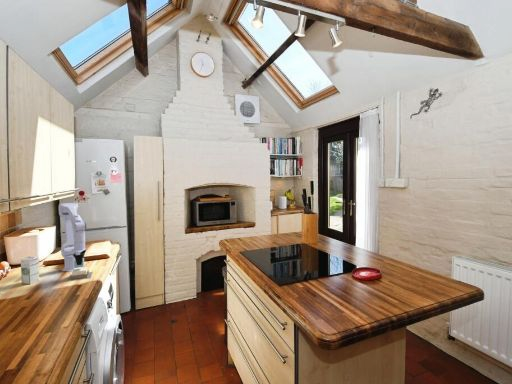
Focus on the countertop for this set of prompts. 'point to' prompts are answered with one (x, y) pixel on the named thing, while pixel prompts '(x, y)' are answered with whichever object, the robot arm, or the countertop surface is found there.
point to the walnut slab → (80, 276)
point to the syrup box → (29, 270)
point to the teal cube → (78, 265)
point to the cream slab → (79, 271)
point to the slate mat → (81, 278)
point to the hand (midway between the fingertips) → (80, 263)
